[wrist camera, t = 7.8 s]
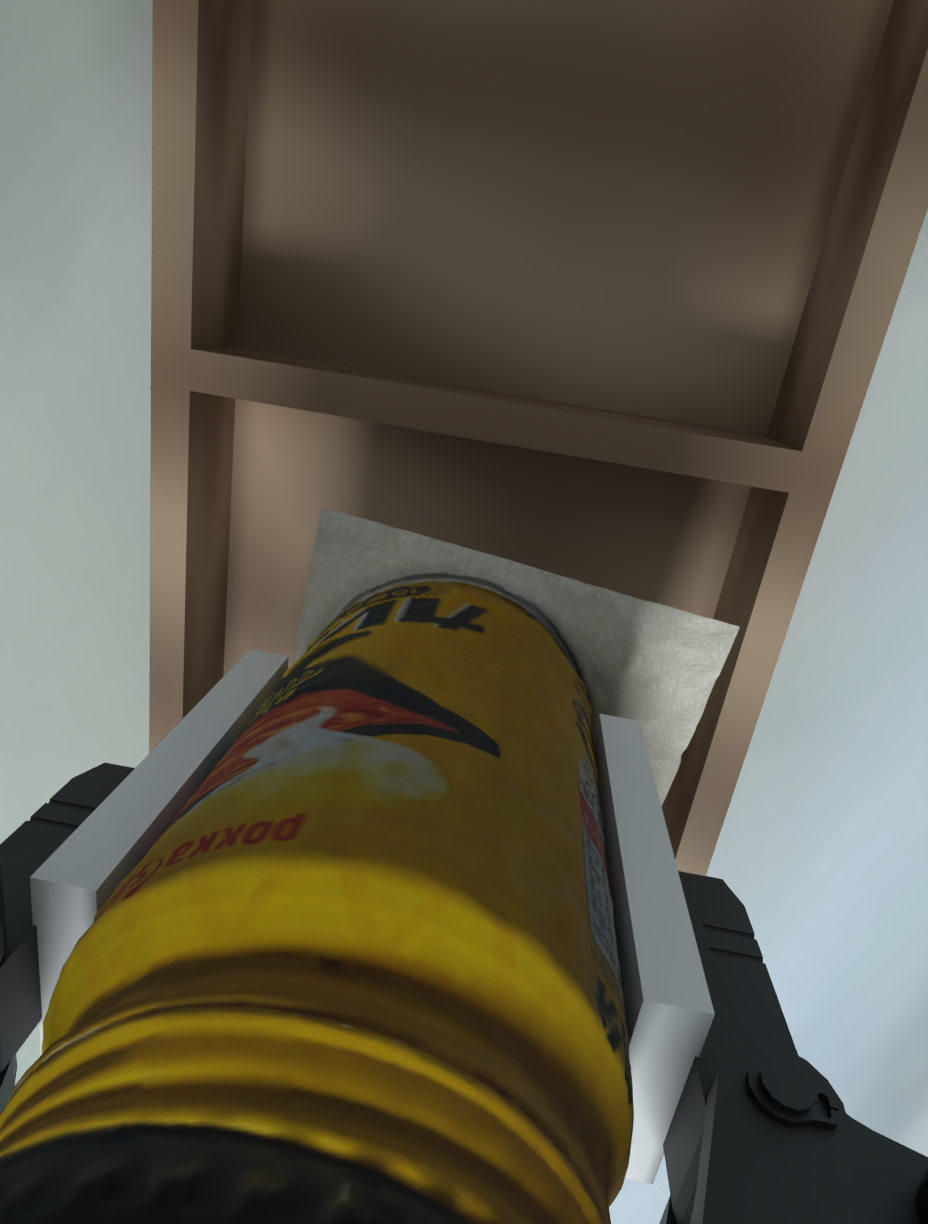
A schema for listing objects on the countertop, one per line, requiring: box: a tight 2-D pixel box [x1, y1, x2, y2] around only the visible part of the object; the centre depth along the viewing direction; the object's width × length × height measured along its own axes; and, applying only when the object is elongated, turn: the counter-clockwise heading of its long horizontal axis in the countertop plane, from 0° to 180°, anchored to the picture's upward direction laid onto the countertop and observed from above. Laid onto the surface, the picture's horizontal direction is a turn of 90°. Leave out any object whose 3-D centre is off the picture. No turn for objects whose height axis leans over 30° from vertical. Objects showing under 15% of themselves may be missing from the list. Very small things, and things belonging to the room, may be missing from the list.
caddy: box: [149, 0, 928, 876], centre depth 16 cm, size 24×14×3 cm, turn 171°
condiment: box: [0, 508, 740, 1224], centre depth 10 cm, size 7×8×12 cm
